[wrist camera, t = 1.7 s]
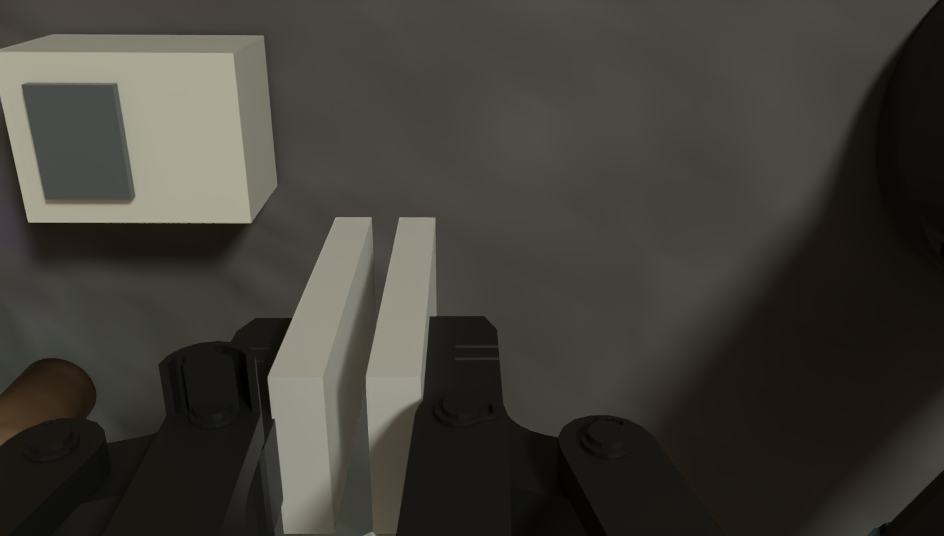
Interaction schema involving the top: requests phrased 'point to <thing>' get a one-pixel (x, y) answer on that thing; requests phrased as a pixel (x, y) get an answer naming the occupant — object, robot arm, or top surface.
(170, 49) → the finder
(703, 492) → the top surface
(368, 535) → the hard drive
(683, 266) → the top surface
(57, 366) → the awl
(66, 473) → the robot arm
